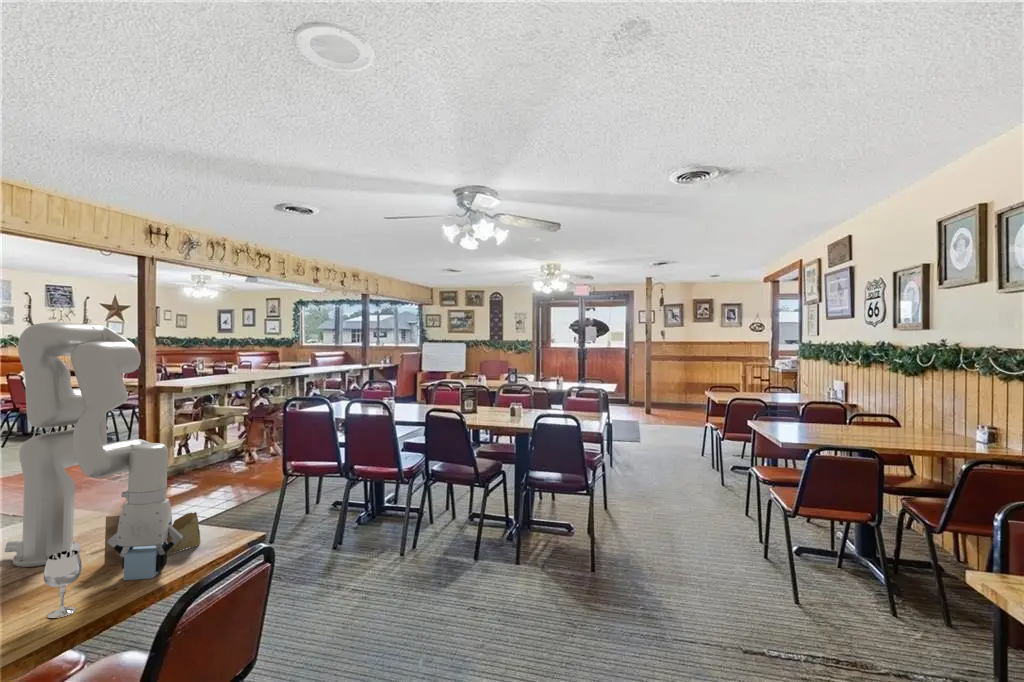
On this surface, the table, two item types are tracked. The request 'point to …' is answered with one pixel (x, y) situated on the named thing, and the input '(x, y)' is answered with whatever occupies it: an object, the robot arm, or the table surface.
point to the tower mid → (112, 524)
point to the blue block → (140, 563)
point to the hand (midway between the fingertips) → (144, 569)
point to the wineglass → (62, 576)
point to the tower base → (111, 555)
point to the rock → (186, 532)
